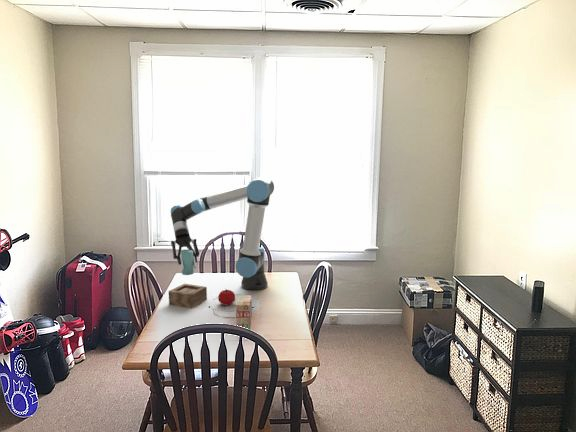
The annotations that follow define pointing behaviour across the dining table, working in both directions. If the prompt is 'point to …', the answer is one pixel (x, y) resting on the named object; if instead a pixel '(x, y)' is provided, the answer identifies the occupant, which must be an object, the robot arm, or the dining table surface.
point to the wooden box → (187, 295)
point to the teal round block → (187, 262)
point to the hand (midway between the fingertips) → (189, 268)
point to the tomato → (226, 297)
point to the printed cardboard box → (244, 311)
